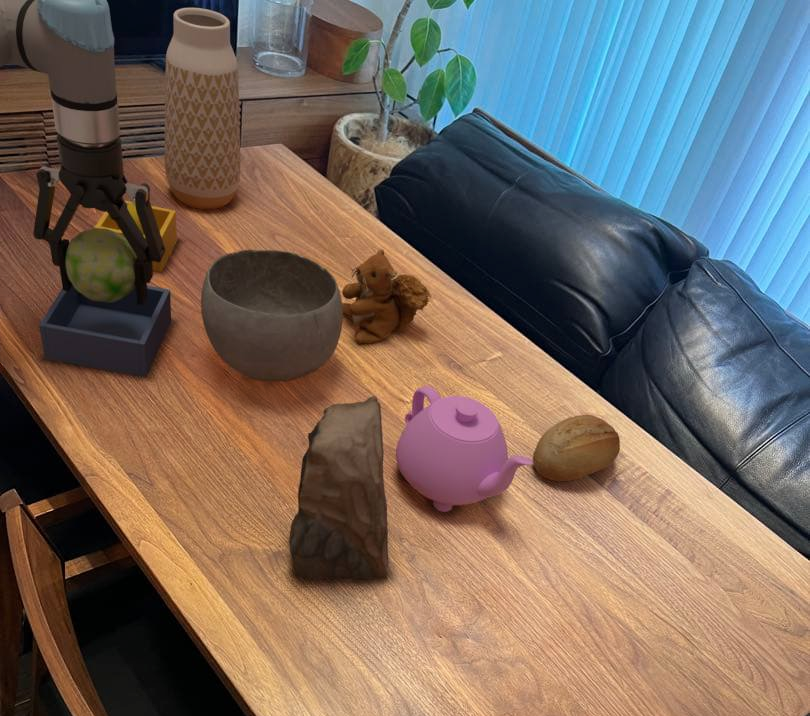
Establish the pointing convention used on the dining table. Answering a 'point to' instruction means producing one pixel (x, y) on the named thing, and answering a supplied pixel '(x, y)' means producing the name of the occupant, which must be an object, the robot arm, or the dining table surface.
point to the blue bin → (106, 330)
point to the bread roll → (576, 448)
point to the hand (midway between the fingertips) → (105, 292)
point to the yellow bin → (165, 225)
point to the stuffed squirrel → (382, 299)
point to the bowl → (271, 313)
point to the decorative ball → (101, 265)
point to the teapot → (454, 450)
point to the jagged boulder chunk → (342, 497)
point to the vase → (202, 110)
